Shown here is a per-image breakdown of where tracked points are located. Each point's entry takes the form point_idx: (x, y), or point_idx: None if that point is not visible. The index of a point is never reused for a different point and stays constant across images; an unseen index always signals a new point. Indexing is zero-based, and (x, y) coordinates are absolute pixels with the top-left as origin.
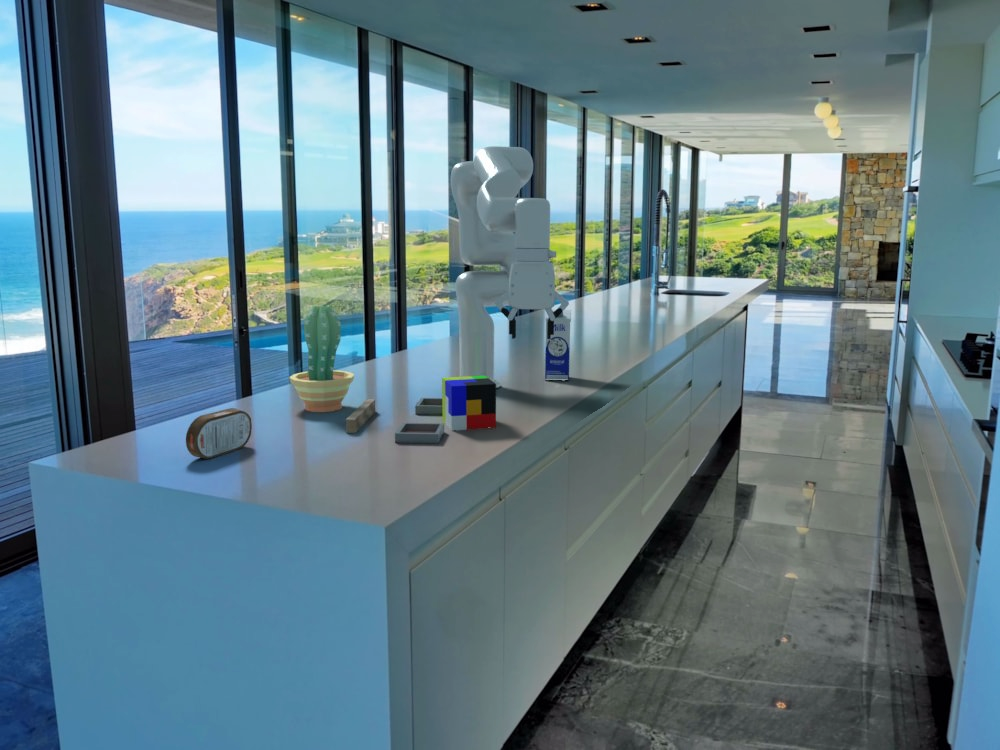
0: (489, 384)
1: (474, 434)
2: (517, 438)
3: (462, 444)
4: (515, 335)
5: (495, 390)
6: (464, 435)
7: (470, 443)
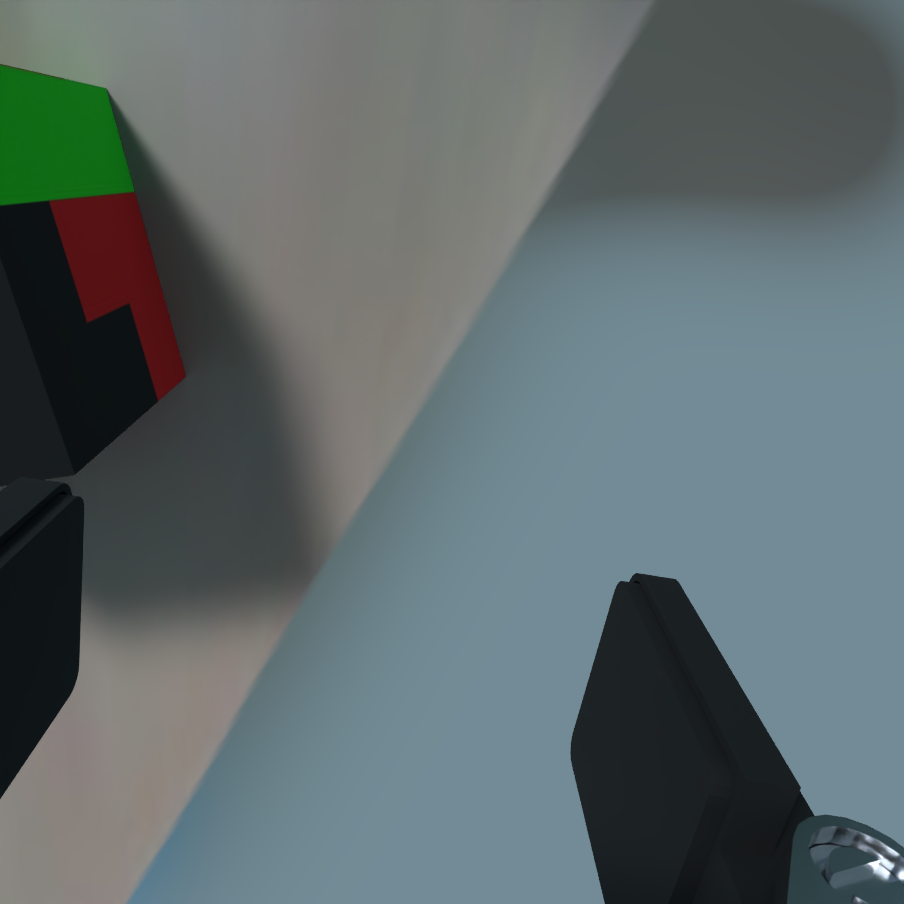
0: None
1: None
2: (296, 593)
3: None
4: (64, 646)
5: (93, 455)
6: None
7: None
